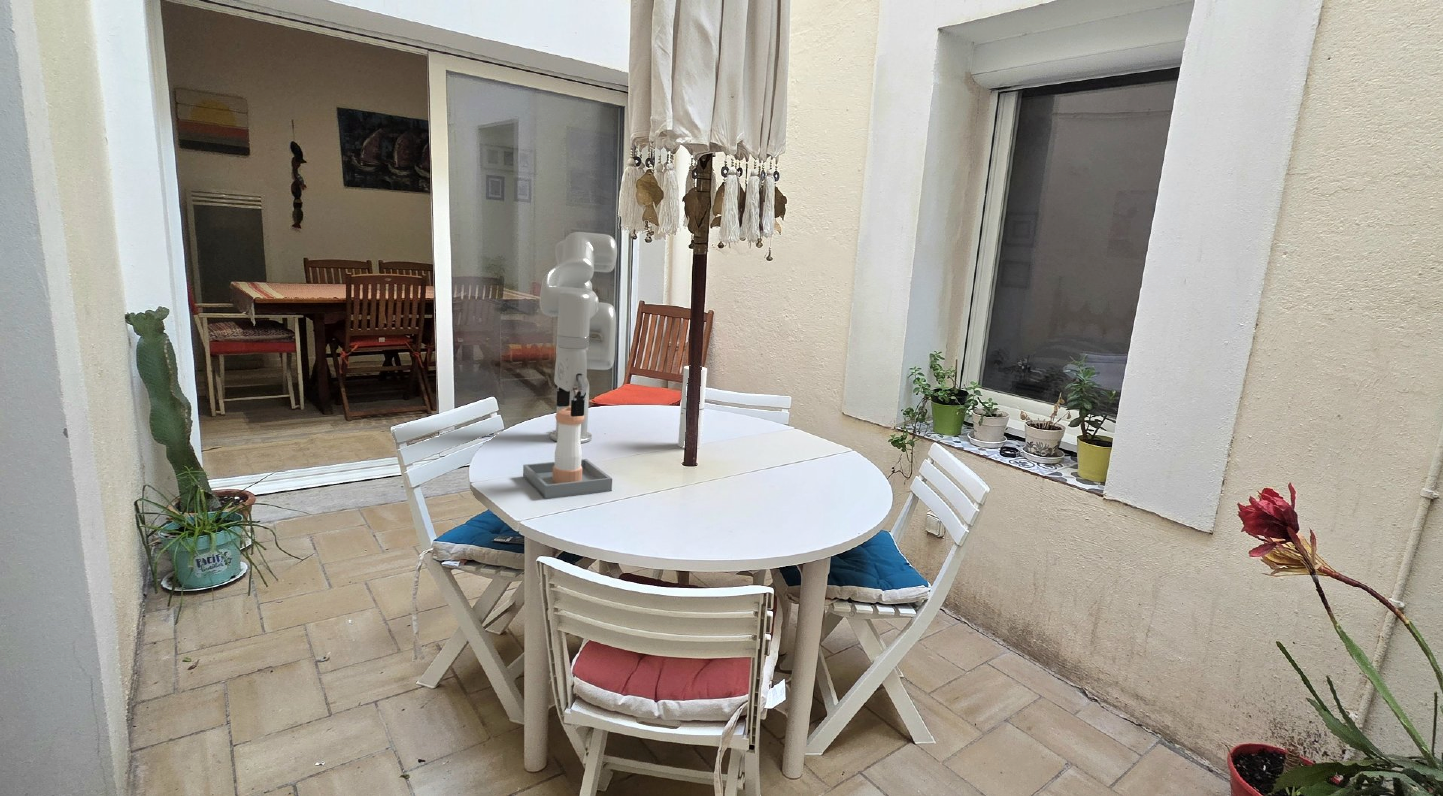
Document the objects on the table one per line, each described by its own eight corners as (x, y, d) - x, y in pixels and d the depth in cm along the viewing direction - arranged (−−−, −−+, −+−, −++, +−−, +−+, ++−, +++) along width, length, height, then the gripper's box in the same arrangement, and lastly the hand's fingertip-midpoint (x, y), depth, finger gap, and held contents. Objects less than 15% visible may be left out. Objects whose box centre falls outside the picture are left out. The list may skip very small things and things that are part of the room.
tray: (523, 476, 179) (523, 464, 178) (585, 470, 188) (586, 458, 187) (545, 498, 165) (545, 485, 164) (611, 490, 174) (612, 478, 174)
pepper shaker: (577, 474, 181) (581, 402, 178) (585, 483, 175) (588, 409, 171) (549, 476, 178) (552, 403, 174) (555, 485, 172) (559, 410, 168)
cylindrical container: (690, 450, 215) (697, 370, 210) (673, 445, 219) (679, 367, 214) (705, 447, 220) (711, 369, 215) (687, 441, 225) (694, 365, 220)
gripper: (545, 336, 174) (543, 403, 178) (570, 349, 160) (567, 421, 164) (574, 336, 178) (571, 401, 182) (601, 348, 164) (597, 419, 168)
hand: (569, 411), depth 173 cm, fingers open, 9 cm apart
